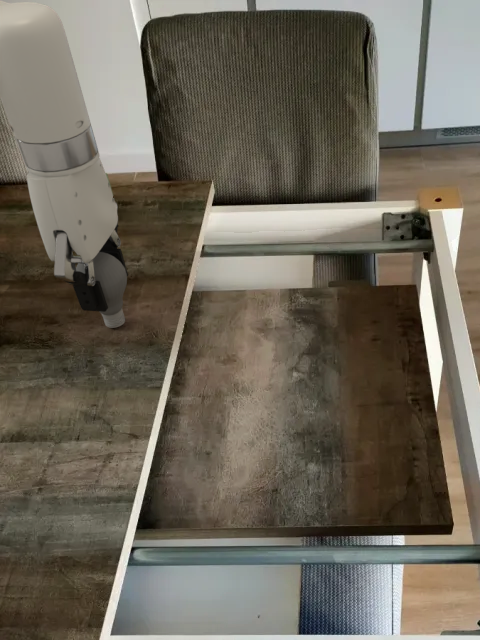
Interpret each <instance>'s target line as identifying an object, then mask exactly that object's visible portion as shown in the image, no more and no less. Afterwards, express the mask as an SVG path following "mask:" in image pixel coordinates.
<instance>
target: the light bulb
mask: <svg viewBox="0 0 480 640" xmlns="http://www.w3.org/2000/svg"><path fill="white" fill-rule="evenodd" d="M93 264H94V272H95V281H100V284H101V287H102V290H103V293H104V296H105V299H106V302H107V305H108V309H107V310H106V311H105V312H100V311H98V312H99V314H101V316H102V319H103V321H104V322H103V323H104V325H105V326H106V327H107V328H110V329H113V328H114V329H115V328H118V327H121V326H122V325H124V324H125V322H126V316H125V314H124V310H123V305H124V301H123V298H124V293H125V291H126V287H127V282H128V276H127V274H126V271H125V268H124V266H123V265H122V264H121V262H120V261H119V260H118V259H116V258H115V257H114V256H112V255H110V254H107V253H103V252H98V254H97V255H96V256H95V257H94V258H93ZM76 271H80V272H82V273H84V274H85V267H84V264H83V263H77V265H76Z"/></svg>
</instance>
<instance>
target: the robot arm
mask: <svg viewBox="0 0 480 640" xmlns="http://www.w3.org/2000/svg"><path fill="white" fill-rule="evenodd" d="M73 58H74V57H73V55H72V52H71V48H70V45H69V41H68V37H67V34H66V30H65V27H64V25H63V22H62V20H61V17H60V16H59V14H58V13H57V11H56V10H55V9H53V8H52V7H51V6H49V5H47V4H44V3H39V2H36V1H35V2H33V1H18V2H7V1H4V0H0V102H1V105H2V107H3V110H4V112H5V115H6V118H7V121H8V124H9V126H10V128H11V129H10V130H11V132H12V134H13V136H14V139H15V143H16V145H17V148H18V150H19V153H20V155H21V159H22V161H23V163H24V167H25V169H26V171H27V174H26V183H27V188H28V193H29V198H30V203H31V207H32V211H33V213H34V218H35V221H36V224H37V228H38V231H39V235H40V238H41V239H42V243H43V246H44V249H45V251H46V255H47V256H48V258H49V259H50V261H51V262H54V266H53V267H54V268H53V275H54V277H55V278H56V279H59V280H61V281H63V282H65V283H68V285H69V286H72V287H73V290H74V292H75V296H76V298H77V301H78V304H79V306H80V309H81V310H82V311H87V312H88V311H89V312H99V311H100V312H105V311H106V310H107V309H108V305H107V302H106V299H105V296H104V293H103V290H102V287H101V284H100V281H95V272H94V264H93V258H94V257H95V256H96V255H97V254H98V252H103V253H107V254H110V255H112V256H114V257H115V258H116V259H118V260H119V261H120V262H121V264H122V265H123V266H124V268H125V271H126V274H127V277H128V276H129V272H128V269H127V266H126V263H125V259H124V255H123V252H122V248H120V247H121V246H122V242H121V241H122V240H121V238H120V236H119V235H118V228H119V216H118V215H119V213H118V203H117V202H116V201H115V197H114V198H113V196H114V193H113V194H112V192H113V190H112V191H111V189H112V187H111V188H110V185H111V184H110V185H109V182H110V181H109V182H108V179H107V176H106V173H107V172H106V171H105V167H104V165H103V163H102V160H101V157H100V150H99V147H98V145H97V141H96V137H95V134H94V131H93V127H92V123H91V120H90V116H89V112H88V108H87V105H86V102H85V98H84V94H83V91H82V87H81V83H80V80H79V77H78V73H77V70H76V69H77V68H76V67H75V66H76V65H75V63H74V59H73ZM73 252H74V253H75V254H76V255H74V253H73ZM78 263H83V264H84V267H85V274H84V273H82V272H80V271H76V267H77V265H76V264H78ZM100 312H99V313H100Z"/></svg>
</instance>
